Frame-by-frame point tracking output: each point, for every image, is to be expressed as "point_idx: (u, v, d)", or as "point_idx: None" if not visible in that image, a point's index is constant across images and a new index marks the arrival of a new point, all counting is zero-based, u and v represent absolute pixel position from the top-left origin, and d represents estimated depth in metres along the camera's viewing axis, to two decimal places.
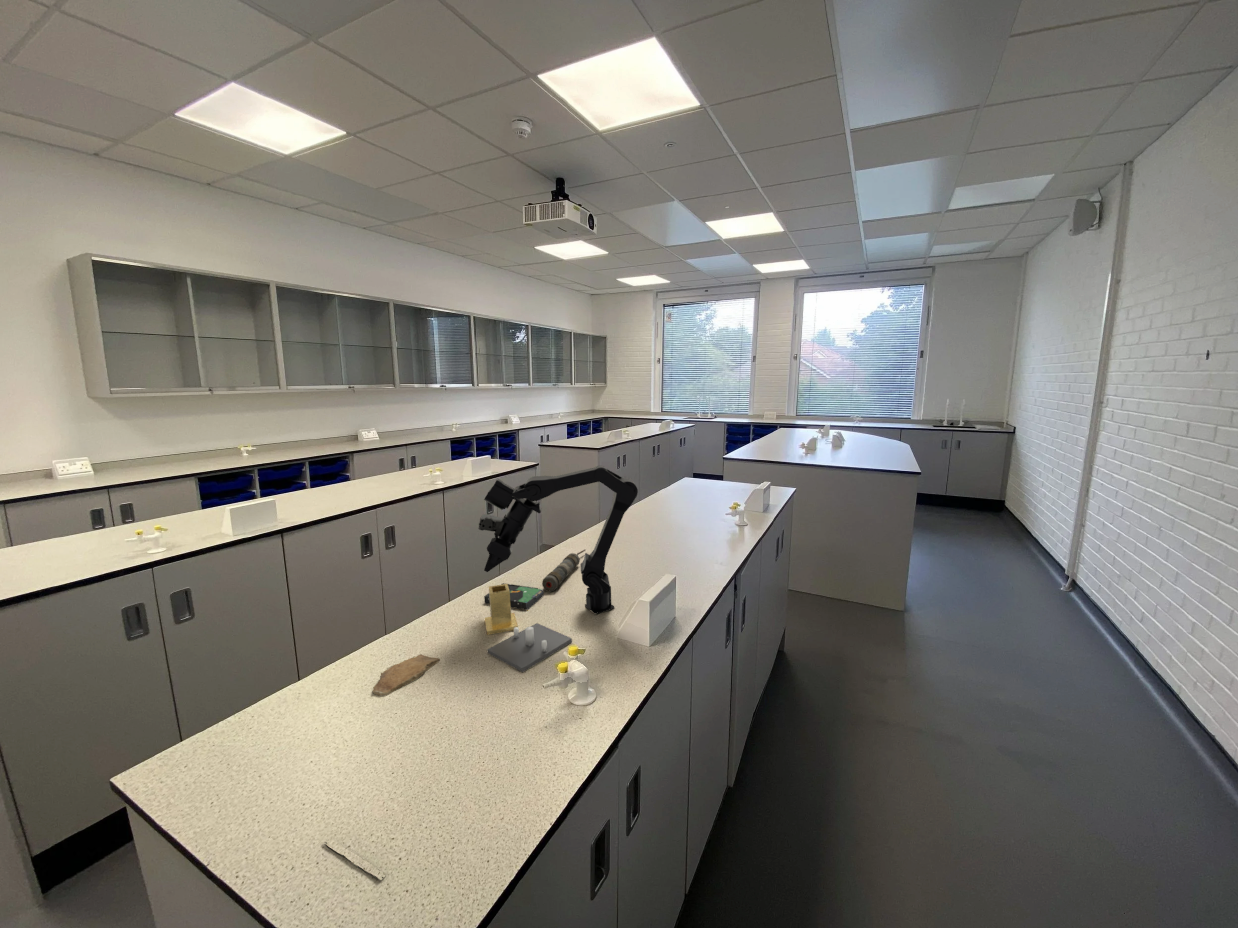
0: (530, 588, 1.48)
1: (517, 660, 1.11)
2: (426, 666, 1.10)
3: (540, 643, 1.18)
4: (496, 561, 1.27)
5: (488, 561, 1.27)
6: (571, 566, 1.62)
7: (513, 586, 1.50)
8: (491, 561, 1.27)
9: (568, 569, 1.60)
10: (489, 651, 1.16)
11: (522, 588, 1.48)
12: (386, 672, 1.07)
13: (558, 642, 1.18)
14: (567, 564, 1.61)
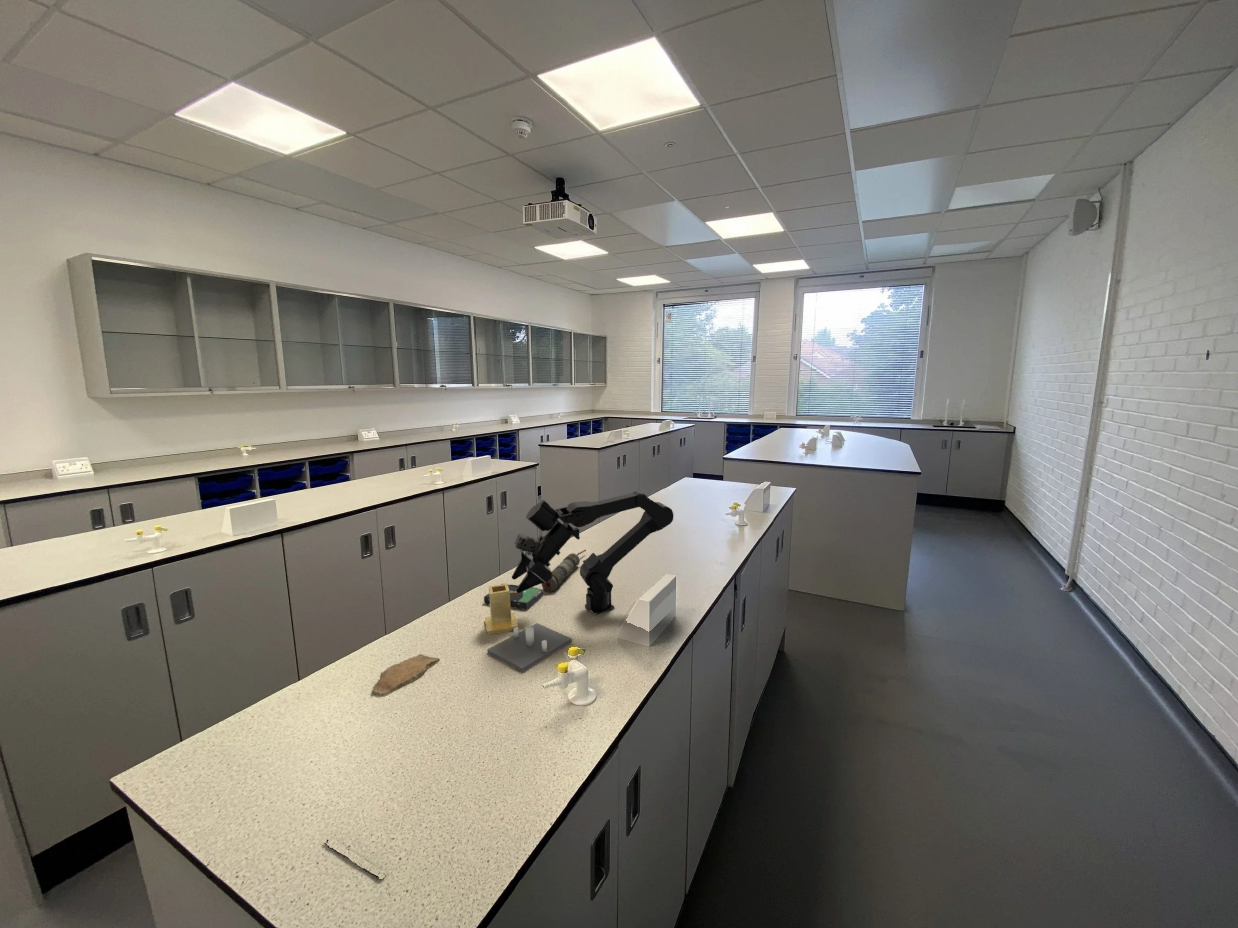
0: (529, 588, 1.48)
1: (517, 660, 1.11)
2: (426, 666, 1.10)
3: (540, 643, 1.18)
4: (532, 583, 1.24)
5: (523, 582, 1.24)
6: (571, 566, 1.62)
7: (512, 586, 1.50)
8: (526, 582, 1.24)
9: (568, 569, 1.60)
10: (489, 651, 1.16)
11: None
12: (386, 672, 1.07)
13: (558, 642, 1.18)
14: (567, 564, 1.61)
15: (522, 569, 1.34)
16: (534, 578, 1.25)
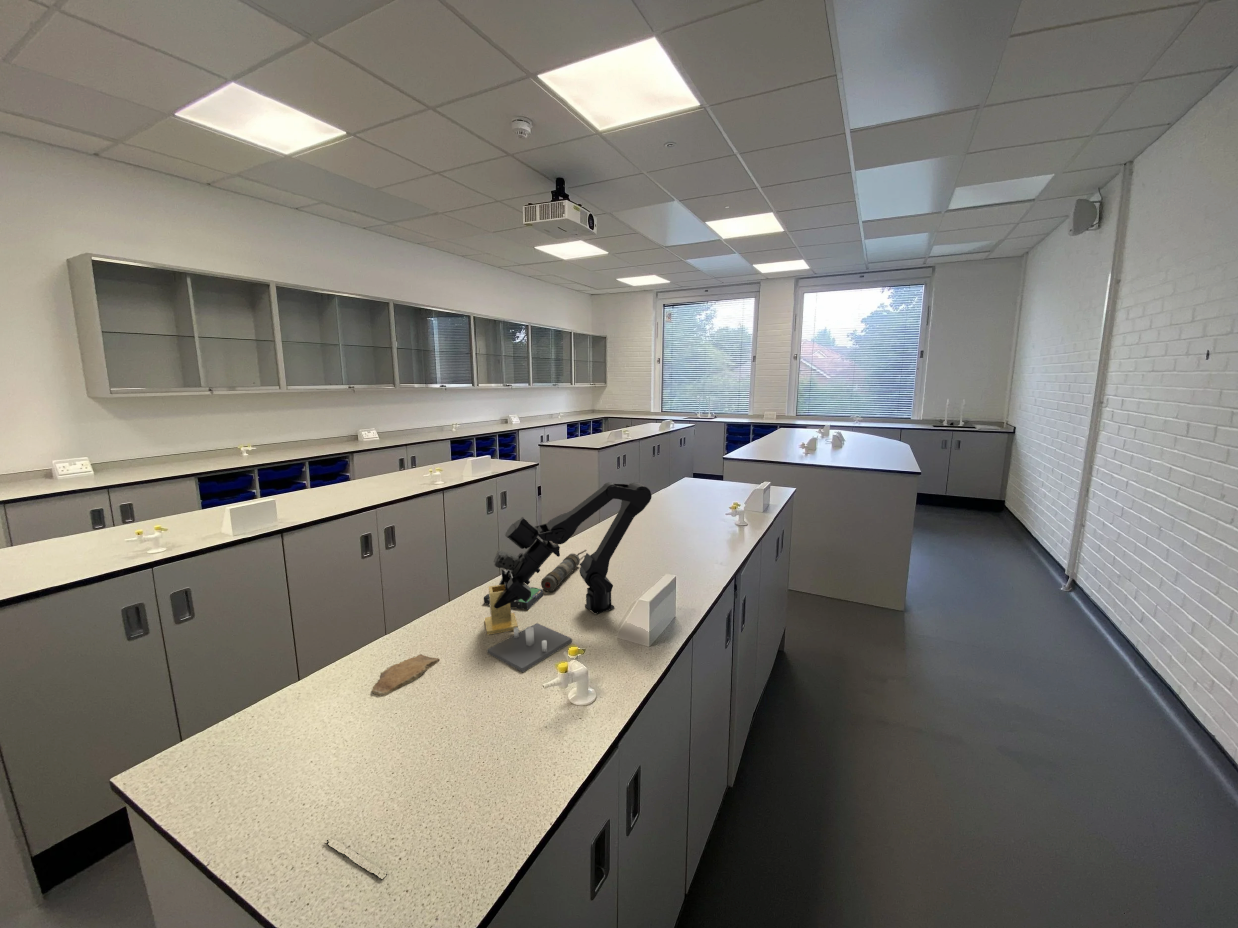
0: None
1: (517, 660, 1.11)
2: (426, 666, 1.10)
3: (540, 643, 1.18)
4: (510, 598, 1.25)
5: (501, 598, 1.25)
6: (571, 566, 1.62)
7: None
8: (504, 598, 1.25)
9: (568, 569, 1.60)
10: (489, 651, 1.16)
11: None
12: (386, 672, 1.07)
13: (558, 642, 1.18)
14: (567, 565, 1.61)
15: None
16: (512, 594, 1.25)
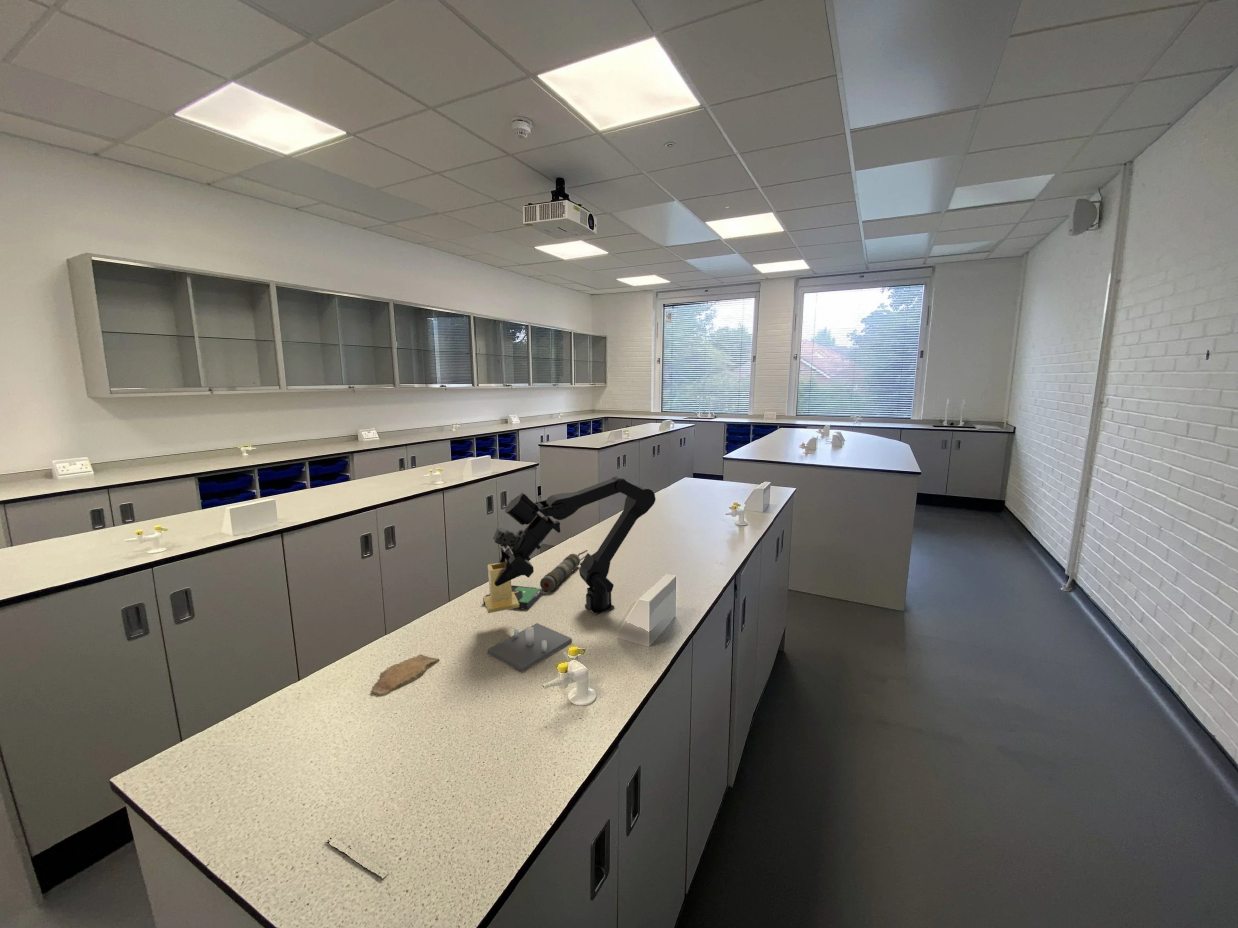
0: (528, 588, 1.48)
1: (517, 660, 1.11)
2: (425, 666, 1.10)
3: (540, 643, 1.18)
4: (511, 575, 1.23)
5: (502, 575, 1.22)
6: (571, 567, 1.62)
7: (511, 587, 1.49)
8: (505, 575, 1.22)
9: (567, 570, 1.59)
10: (489, 651, 1.16)
11: (520, 588, 1.48)
12: (386, 672, 1.07)
13: (558, 642, 1.18)
14: (567, 565, 1.60)
15: None
16: (513, 570, 1.23)
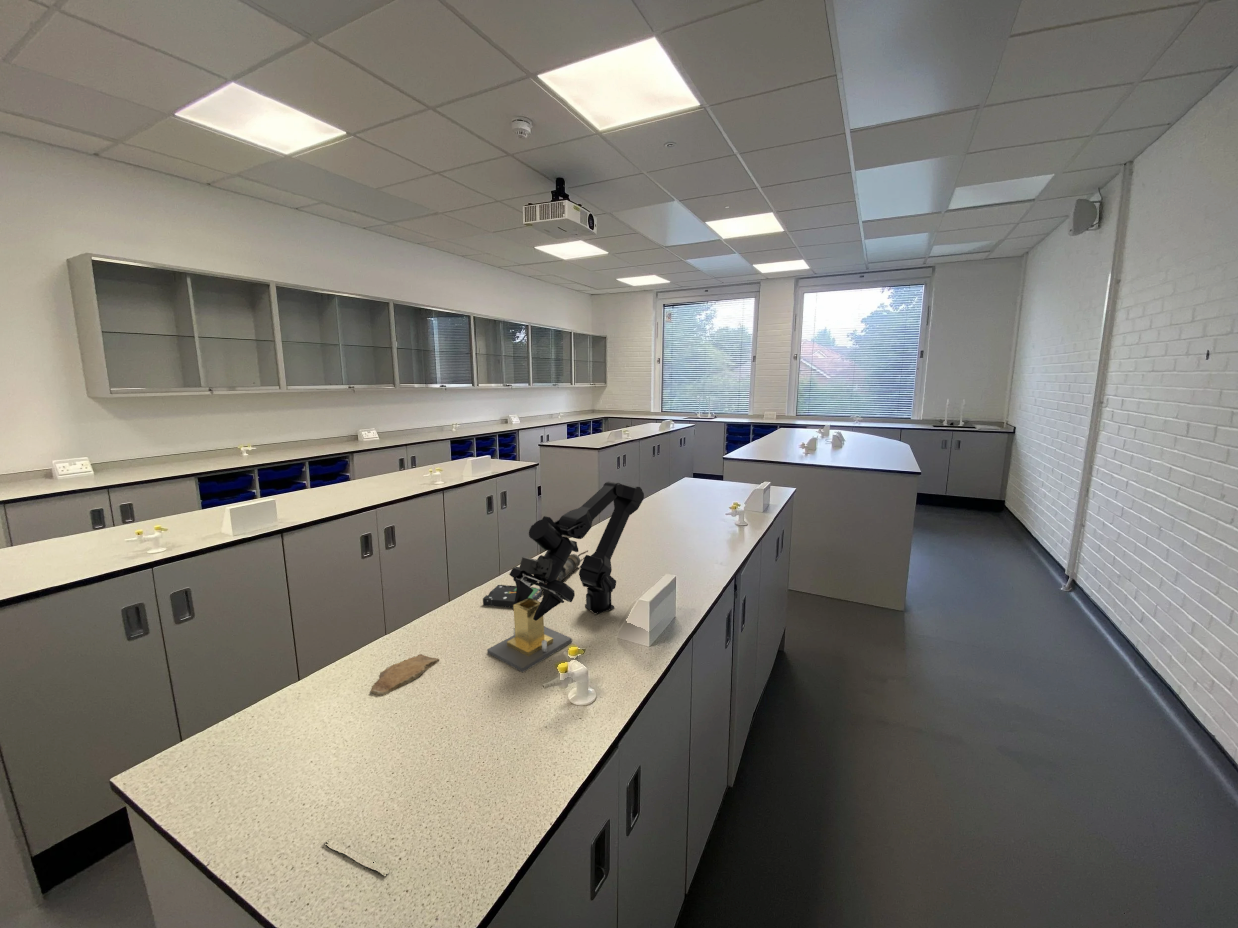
0: None
1: (517, 660, 1.11)
2: (425, 666, 1.10)
3: None
4: (550, 606, 1.15)
5: (542, 607, 1.14)
6: (570, 567, 1.62)
7: (510, 587, 1.49)
8: (545, 607, 1.14)
9: (567, 570, 1.59)
10: (489, 651, 1.16)
11: None
12: (386, 672, 1.07)
13: (558, 642, 1.18)
14: (566, 565, 1.60)
15: (521, 598, 1.20)
16: (551, 600, 1.16)
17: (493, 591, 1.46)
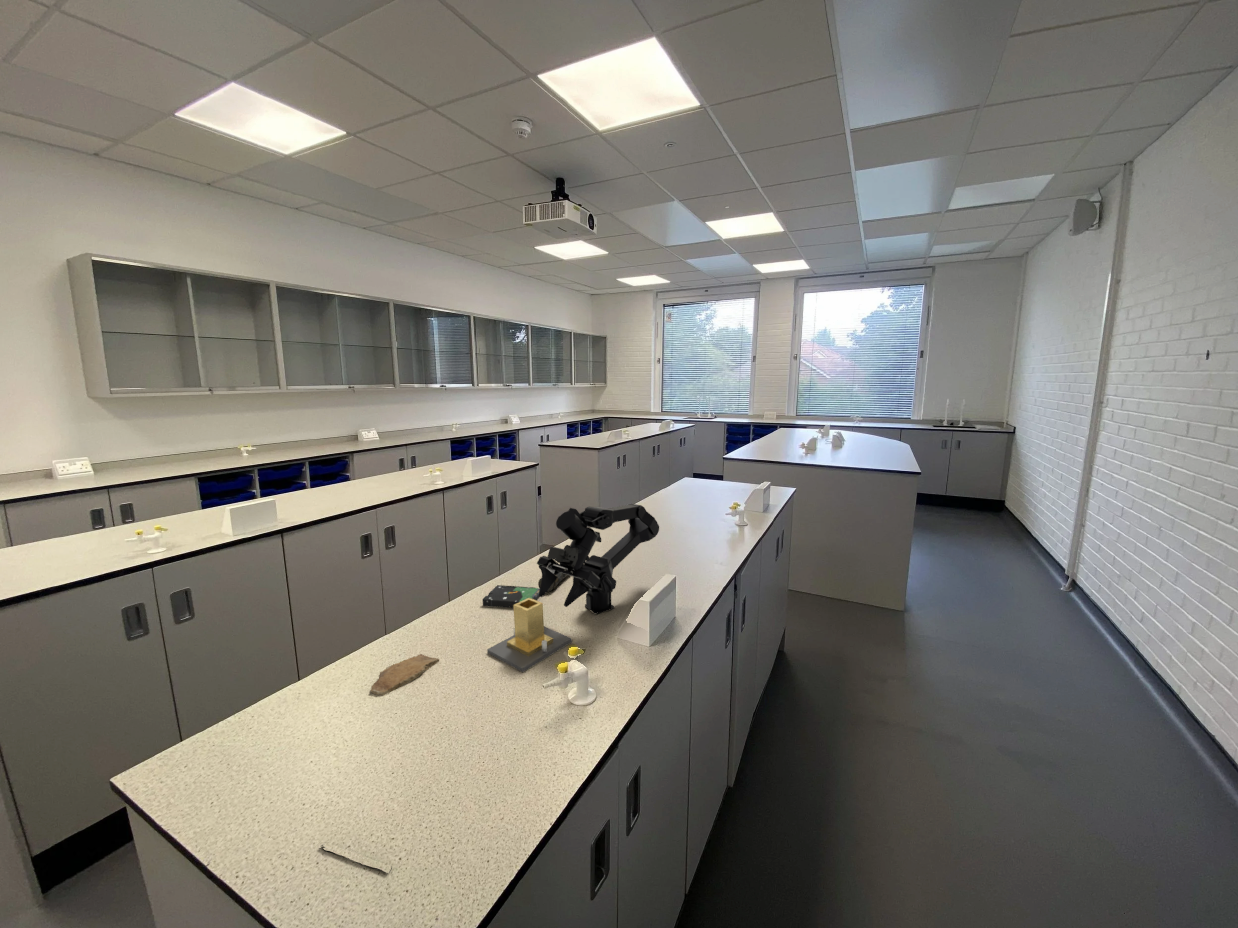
0: (527, 588, 1.48)
1: (517, 660, 1.11)
2: (425, 666, 1.10)
3: None
4: (579, 593, 1.22)
5: (572, 594, 1.20)
6: None
7: (509, 587, 1.49)
8: (575, 594, 1.21)
9: None
10: (489, 651, 1.16)
11: (519, 588, 1.47)
12: (385, 672, 1.07)
13: (558, 642, 1.18)
14: None
15: (547, 584, 1.28)
16: (580, 588, 1.22)
17: (492, 591, 1.46)
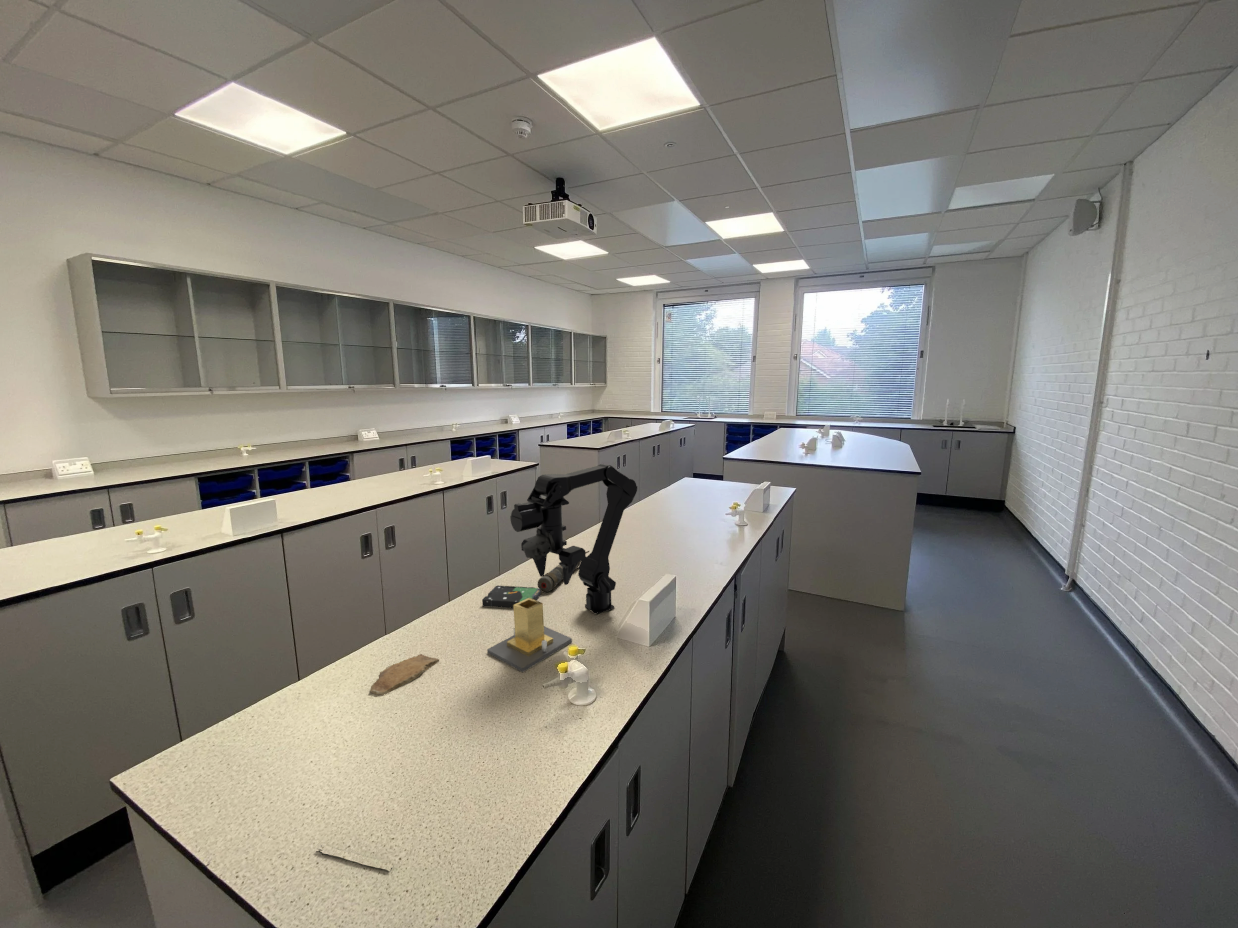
0: (526, 588, 1.48)
1: (517, 660, 1.11)
2: (425, 666, 1.10)
3: None
4: (572, 568, 1.23)
5: (567, 574, 1.22)
6: None
7: (508, 587, 1.49)
8: (569, 572, 1.22)
9: None
10: (489, 651, 1.16)
11: (518, 589, 1.47)
12: (385, 672, 1.07)
13: (558, 642, 1.18)
14: None
15: (542, 563, 1.29)
16: None
17: (492, 592, 1.45)
